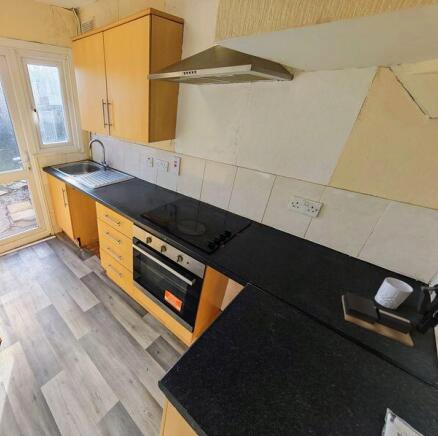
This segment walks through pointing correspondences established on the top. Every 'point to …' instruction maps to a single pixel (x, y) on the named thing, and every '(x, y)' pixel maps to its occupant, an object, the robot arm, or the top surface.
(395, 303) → the white cup
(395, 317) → the loose pad
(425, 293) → the robot arm
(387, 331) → the mount board
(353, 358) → the top surface
